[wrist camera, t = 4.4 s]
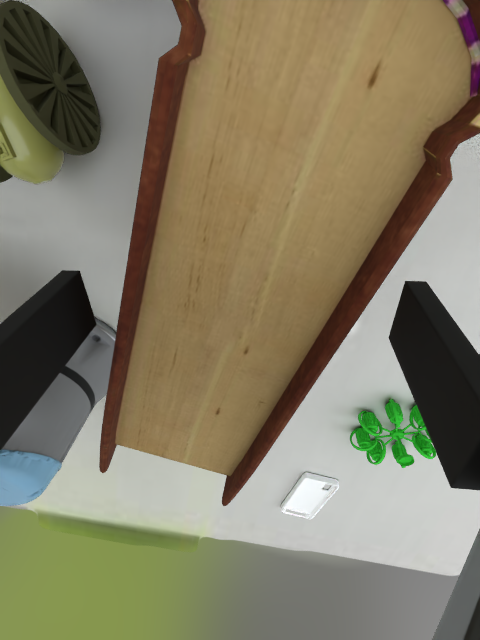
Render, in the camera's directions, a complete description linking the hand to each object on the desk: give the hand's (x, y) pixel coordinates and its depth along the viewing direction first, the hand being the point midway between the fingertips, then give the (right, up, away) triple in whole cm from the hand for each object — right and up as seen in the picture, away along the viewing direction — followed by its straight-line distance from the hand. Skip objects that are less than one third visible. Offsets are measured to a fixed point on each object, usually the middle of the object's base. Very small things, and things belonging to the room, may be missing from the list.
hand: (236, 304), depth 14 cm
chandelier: (+26, -18, +43) cm, 54 cm away
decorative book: (+2, +16, +23) cm, 28 cm away
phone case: (+15, -37, +58) cm, 71 cm away
